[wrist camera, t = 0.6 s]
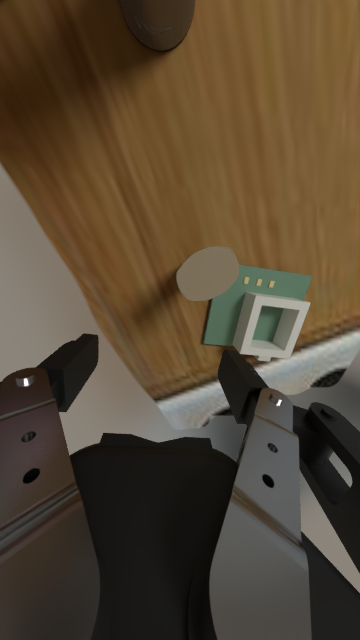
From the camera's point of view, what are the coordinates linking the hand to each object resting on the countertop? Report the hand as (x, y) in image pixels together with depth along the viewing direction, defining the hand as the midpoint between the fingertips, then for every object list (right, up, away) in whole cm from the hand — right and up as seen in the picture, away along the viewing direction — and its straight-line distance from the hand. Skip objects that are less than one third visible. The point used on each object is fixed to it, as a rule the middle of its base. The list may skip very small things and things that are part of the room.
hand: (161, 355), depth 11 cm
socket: (+18, +2, +24) cm, 30 cm away
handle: (+3, +12, +21) cm, 24 cm away
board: (+16, +4, +24) cm, 29 cm away
